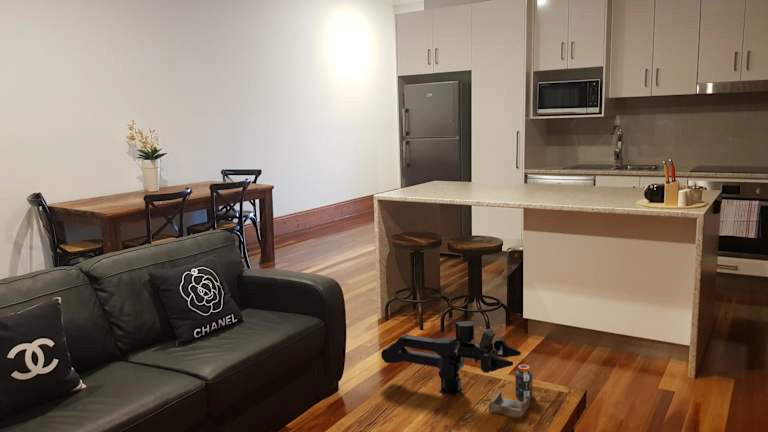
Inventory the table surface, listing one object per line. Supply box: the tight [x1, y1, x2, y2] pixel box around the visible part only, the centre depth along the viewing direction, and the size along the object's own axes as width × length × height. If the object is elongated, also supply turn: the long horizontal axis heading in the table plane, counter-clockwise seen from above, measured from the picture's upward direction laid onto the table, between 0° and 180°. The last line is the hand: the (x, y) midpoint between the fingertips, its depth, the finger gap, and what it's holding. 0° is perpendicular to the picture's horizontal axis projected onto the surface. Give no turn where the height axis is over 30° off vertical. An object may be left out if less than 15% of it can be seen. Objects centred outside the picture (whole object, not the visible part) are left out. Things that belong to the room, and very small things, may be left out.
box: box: [488, 390, 531, 420], centre depth 205 cm, size 11×11×3 cm
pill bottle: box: [514, 364, 534, 400], centre depth 212 cm, size 6×6×11 cm
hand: (516, 358), depth 206 cm, fingers open, 9 cm apart
